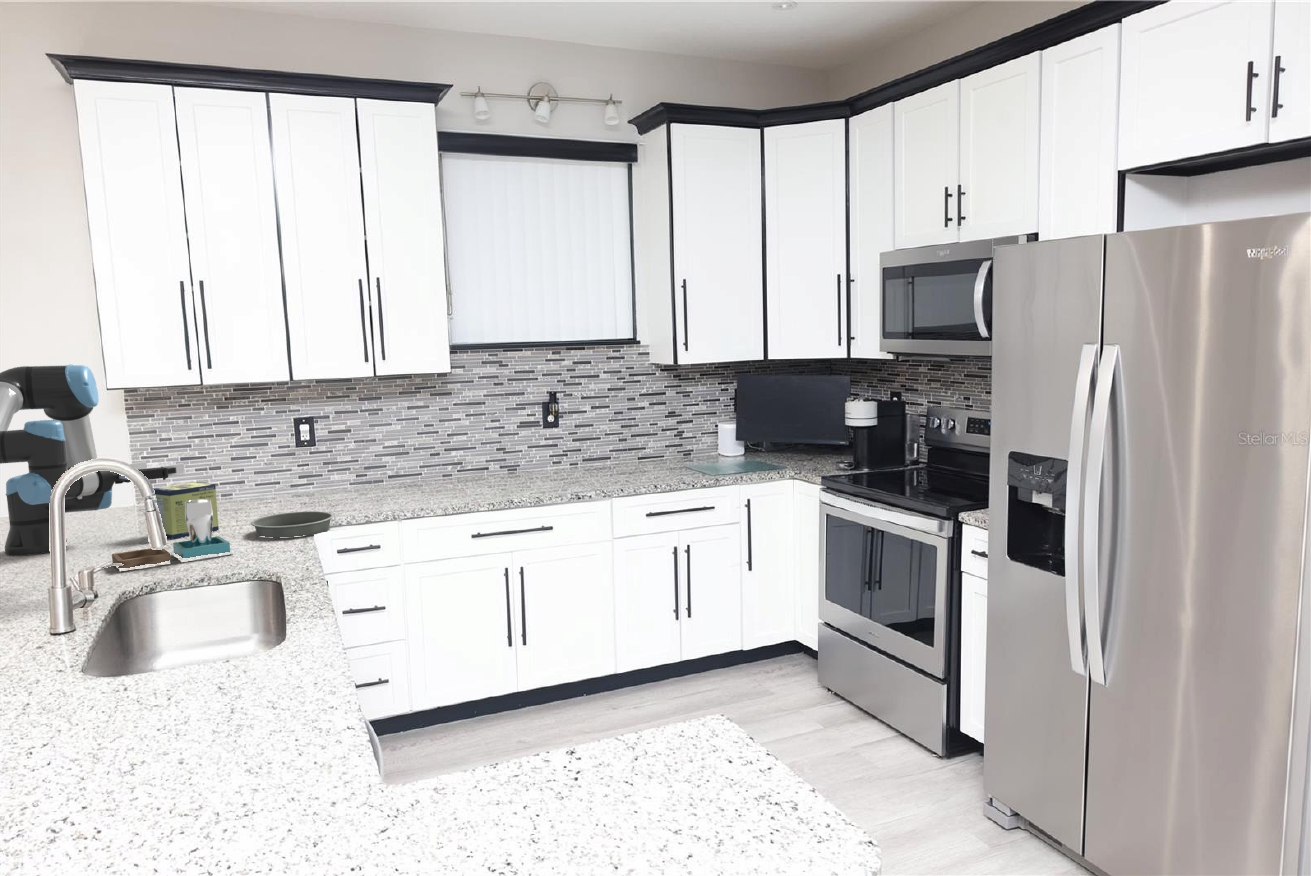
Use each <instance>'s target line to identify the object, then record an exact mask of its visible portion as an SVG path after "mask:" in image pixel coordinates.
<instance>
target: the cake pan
mask: <svg viewBox="0 0 1311 876" xmlns="http://www.w3.org/2000/svg"><path fill="white" fill-rule="evenodd" d="M333 518H334V514H333V513H332V512H326V511H319V510H318V511H316V510H315V511H313V510H312V511H311V510H310V511H290V512H282V513H275V514H271V515H266V516H265V515H264V516H261V517H259V518H256V519H253V520H252V521H250V525H251V526H253V527H254V529H255V532H256V535H257V536H258V537H259V536H265V537H273V538H272V539H274V538H278V539H281V538H280V537H294V536H303V535H309V536H312V535H313V536H314V535H318V534H321V533H324V532H326V531H328V530H329V529H330V524H331V520H332V519H333ZM303 537H304V536H303ZM294 538H295V537H294Z"/></svg>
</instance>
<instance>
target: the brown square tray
mask: <svg viewBox="0 0 1311 876" xmlns="http://www.w3.org/2000/svg"><path fill="white" fill-rule="evenodd" d="M151 548H152V547H150V548H143V549H136V550H129V551H123V552H115V553H111V559H112V560H111V561H112V564H113V563H122V564H124V565H123V566H119V567H118V568H130V567H135V566H140V565H145V564H157V563H161V562H165V561H169V560H171V561H172V558H171V557H172V555H171V552H170V551H167V550H166V549H165V548H164V549H162V550H152V549H151Z"/></svg>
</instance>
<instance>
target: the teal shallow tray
mask: <svg viewBox="0 0 1311 876" xmlns="http://www.w3.org/2000/svg"><path fill="white" fill-rule="evenodd" d="M172 547H173V553H175V554H178V555H179V556H181V557H182V558H190V557H196V556H201V555H208V554H219V553H225V552H230V551H231V545H230V542H229V541H228V540H226V539H225V538H222V537H221V536H220V535H219V536H218V535H217V536H212V545H205V546H198V547H192V548H191V540H190V539H189V540H184V541H183V540H182V541H177V542H176V541H175V542H172Z"/></svg>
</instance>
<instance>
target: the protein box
mask: <svg viewBox="0 0 1311 876" xmlns="http://www.w3.org/2000/svg"><path fill="white" fill-rule="evenodd" d="M216 487H217V486H216V483H207V482H200V481H195V482H190V483H181V484H175V485H171V486H170V485H169V486H162V487H155V488H153V489H154V490H155V494H156V498H157V505H158V508H159V511H160V514H161V518H162V523H163V527H164V529H165V532H166V536H167V538H166V539H169V538H170V539H169V540H175V539H181V537H183V538H186V537H185V536H188V537H190V536H189V532H188V529H187V525H186V520H185V502H187V501H191V500H198V499H210V500H211V505H212V511H213V527H212V531H213V532H217V530H218V531H219V529H220V528H219V517H218V515H219V513H218V503H217V502H218V501H217V489H216Z"/></svg>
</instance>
